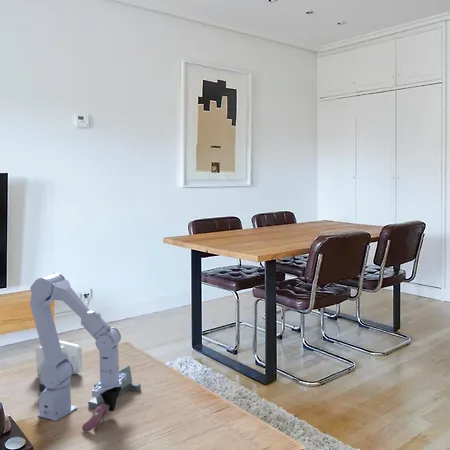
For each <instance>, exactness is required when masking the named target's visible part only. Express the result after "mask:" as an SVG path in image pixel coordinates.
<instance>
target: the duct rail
mask: <svg viewBox="0 0 450 450" xmlns="http://www.w3.org/2000/svg"><path fill="white" fill-rule="evenodd" d="M141 386H142V384H141V383H138V382H132V383H130V384H128V385H127V386H125V387H124V388H122V389H121V391H120V393H119V395H118V397H117V398H119V397H120V396H122V395H124V394H125V393H127V392H128V391H129V390H130V391H131V392H134V393H138V392H140V391H142V388H141ZM87 403H88V404H87V405H88V407H87V408H89V409H94V410H96V408H97V407H98V406H100V405H101V404H103V403H104V404H105V402H104V400H103V401H102V402H100V403H97V400H96V397H92V398H91V399H90V400H88V401H87Z"/></svg>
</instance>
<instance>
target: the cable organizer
mask: <svg viewBox="0 0 450 450" xmlns="http://www.w3.org/2000/svg"><path fill="white" fill-rule="evenodd" d="M59 342H60V346H61V349H62V352H63V353H65V354H67V355H68V358H69V360H70V362H71V363H72V364H73V367H74V372H73V374H74V375H77V374H79V373H81V372H82V371H83V356H82V348H81V346H80V345H79V344H77V343H73V342H68V341H64V340H60V339H59ZM35 361H36V362H35V363H36V372H37V374H38V368H39V366H40V365H41V364H42V363H43V361H44V354H43V350H42V347H41V345H40V346H38V347H36V348H35ZM73 374H72V375H73Z"/></svg>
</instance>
